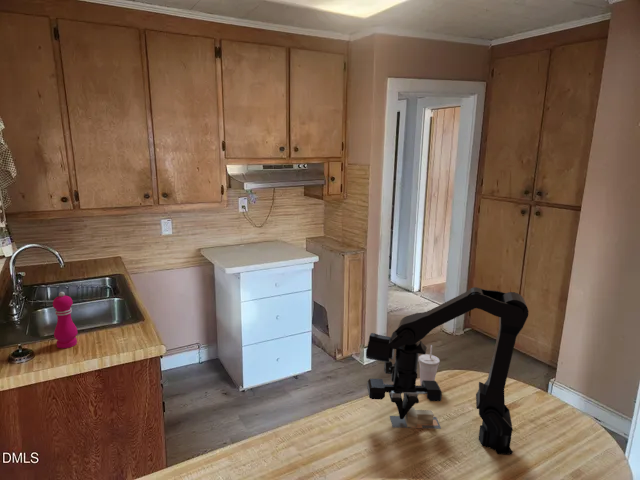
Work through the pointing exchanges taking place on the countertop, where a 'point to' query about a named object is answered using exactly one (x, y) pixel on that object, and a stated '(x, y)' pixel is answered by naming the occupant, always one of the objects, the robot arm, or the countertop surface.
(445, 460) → the countertop surface
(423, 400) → the countertop surface
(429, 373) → the smoothie
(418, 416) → the t block
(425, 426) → the mat
